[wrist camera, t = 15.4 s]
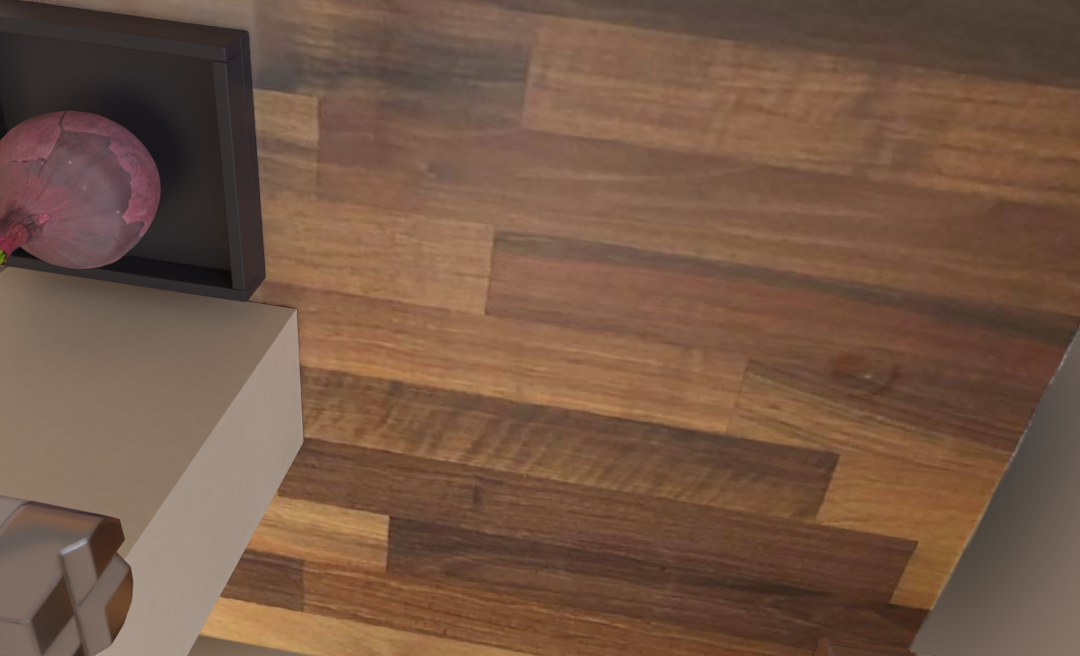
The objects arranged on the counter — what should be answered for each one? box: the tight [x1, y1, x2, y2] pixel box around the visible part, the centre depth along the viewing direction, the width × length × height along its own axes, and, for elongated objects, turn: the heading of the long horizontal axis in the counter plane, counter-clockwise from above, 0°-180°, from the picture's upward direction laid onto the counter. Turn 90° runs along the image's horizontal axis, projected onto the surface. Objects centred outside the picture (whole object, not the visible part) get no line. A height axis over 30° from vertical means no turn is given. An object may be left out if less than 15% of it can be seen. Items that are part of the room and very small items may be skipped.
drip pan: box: [0, 0, 265, 302], centre depth 39 cm, size 11×11×2 cm
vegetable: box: [0, 110, 161, 269], centre depth 35 cm, size 6×6×10 cm
